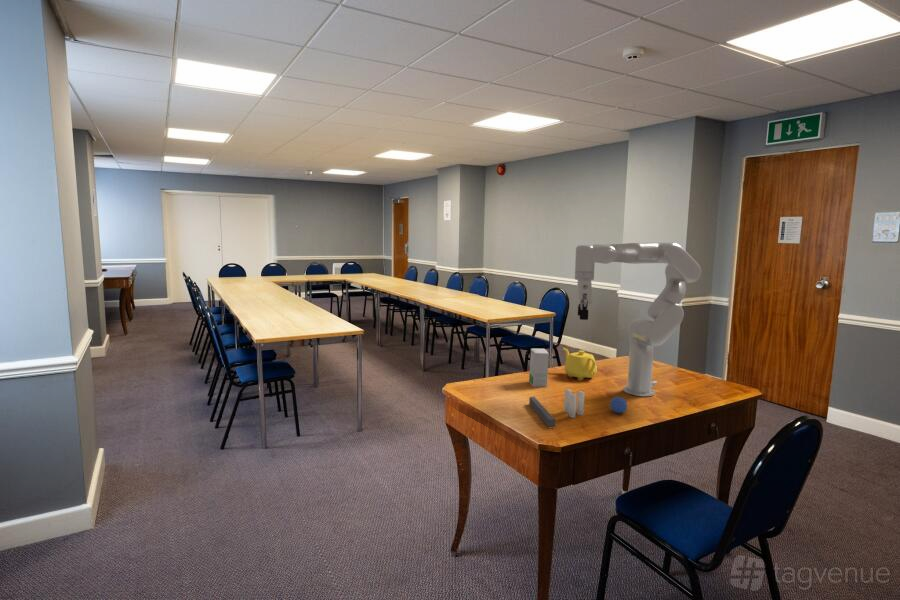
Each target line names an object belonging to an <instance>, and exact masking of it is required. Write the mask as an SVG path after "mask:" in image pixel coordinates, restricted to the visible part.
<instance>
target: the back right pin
mask: <svg viewBox="0 0 900 600" xmlns="http://www.w3.org/2000/svg"><path fill="white" fill-rule="evenodd" d="M571 393H572V389H568V388H567V389H566V388H565V389H564V406H563V413H565V414H569V400H570V394H571Z"/></svg>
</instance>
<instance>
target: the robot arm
mask: <svg viewBox="0 0 900 600" xmlns="http://www.w3.org/2000/svg"><path fill="white" fill-rule="evenodd" d="M574 261H575V262H574V263H575V266H574V268H575V269H574V280H577V287H576V290H577V291H576V293H577V294H576V296H577V302H578V305H577V316H579V320H583V321H584V320H585V321H588V320H589V305H592V290H593V289H592V281H594V280H595V264H596V263H598V264H599V263H600V264H602V265H603V264H607V265H608V264H611V263H624V264H631V265H632V264H640V265H642V264H666V267H665V268H664V269H665V271H664V273H665V274H664V275H665V286H664V289H663V290H662V291H661V292H660V294H659V295H658V296H656V297H655V299H654V300H653V301H652V303H651V304H650V305H649V306H648V308H647V312H646V313H647V316H648V318H649V319H645V318H636V319H634V320H633V321H631V323H630V324H629V327H628V339H629V340H628V341H629V353H628V354H629V355H628V365H627V366H628V370H627V371H628V372H627V383H626V384H627V385H625V386H623V388H622V390H623V392H624V393H625V394H629V395H632V396H636V397H652V396H654V395H655V394H656V390H654V389H653V387H654V386H657V385H658V382H657V381H656V380H653V379H652V377H653V368H654V367H653V365H654V364H653V363H654V362H653V361H654V347H658V346H661V345H663V344H664V343H665V342H666V341H667V340H668V339H669V338H670V336H672V335H673V333H674V332H675V331H676V329H678V327H679V326H680V324H682V322H683V319H684V317H685V311H684V309H683V307H682V306H681V305H680V304H681V302H682V301H683V299H684V298H685V297H686V293H687V292H686V291H687V289H686V283H688V284H691V283H695V282H697V281H699V280H700V278H701V276H702V267H701V266H700V264H699V263H698V261H696V260H695V259H694V258H693V256H691V255H690V254H689V252H688V251H686V250H685V249H684V248H683V247H682V246H681V245H680V244H678V243H677V242H629V243H609V244H608V243H606V244H605V243H603V244H601V243H600V244H598V243H597V244H592V245H590V244H589V245H588V244H584V245H583V244H580V245H578V246H576V248H575V260H574ZM650 319H651V320H650ZM652 380H653V381H652Z"/></svg>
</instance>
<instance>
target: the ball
mask: <svg viewBox="0 0 900 600" xmlns="http://www.w3.org/2000/svg"><path fill="white" fill-rule="evenodd" d="M609 403H610V404H609V405H610V406H609V407H610V408H611V410H612V411H613V412H614V413H615V414H623V413H625V412H626V410H627V408H628V403H627V400H625V398H623V397H621V396H615V397H613V398H612V399H611V401H610V402H609Z"/></svg>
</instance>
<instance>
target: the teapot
mask: <svg viewBox="0 0 900 600" xmlns="http://www.w3.org/2000/svg"><path fill="white" fill-rule="evenodd" d="M562 350H564V352H565V353H564V354H565V364H564V372H565V374H566V375H568V376H569V377H568V376H567V377H568V378H577V381H580V380H583V381H584V379H585V378H586V379H589V378H592V379H593V376H595V375H596V374H597V371H598V367H597V362H596V359H595V356H594V355H593V354H592V353H588V352H585V350H583V349H582V350H578V352H576V351H575V352H572V353H570V352H569V349H568V348H565V347H563V348H562Z"/></svg>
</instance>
